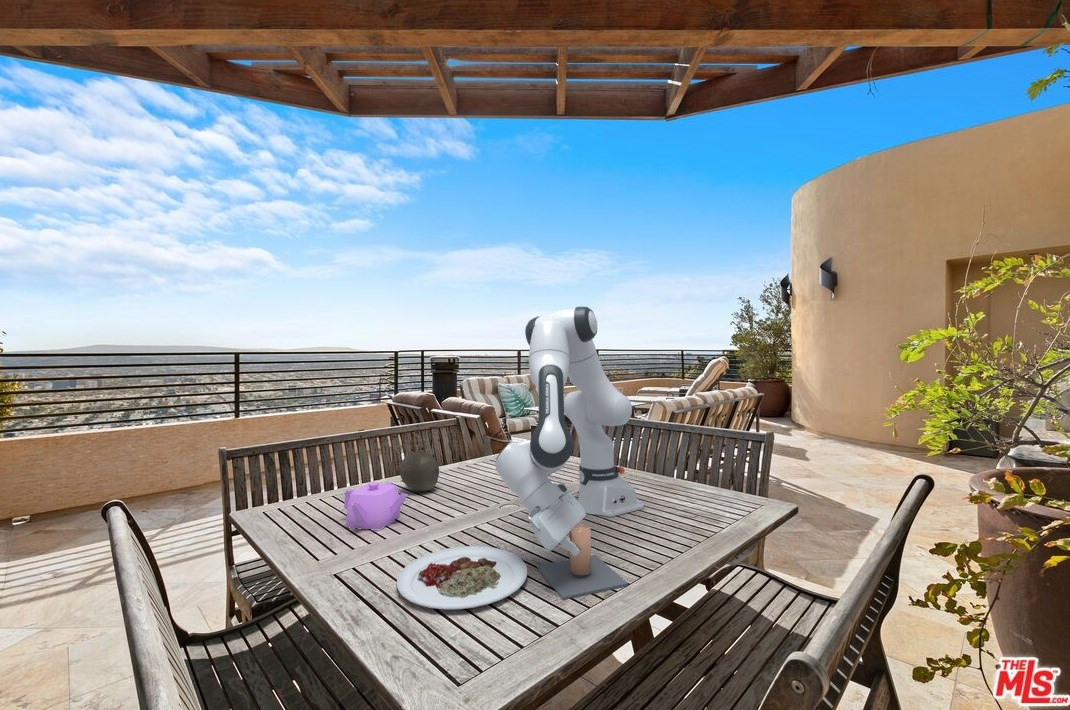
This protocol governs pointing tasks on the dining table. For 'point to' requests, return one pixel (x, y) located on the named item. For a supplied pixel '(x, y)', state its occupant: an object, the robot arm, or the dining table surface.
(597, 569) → the mat
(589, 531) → the tan rounded cylinder
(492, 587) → the plated food
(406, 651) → the dining table surface
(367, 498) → the teakettle
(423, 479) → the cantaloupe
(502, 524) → the dining table surface
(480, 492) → the dining table surface
